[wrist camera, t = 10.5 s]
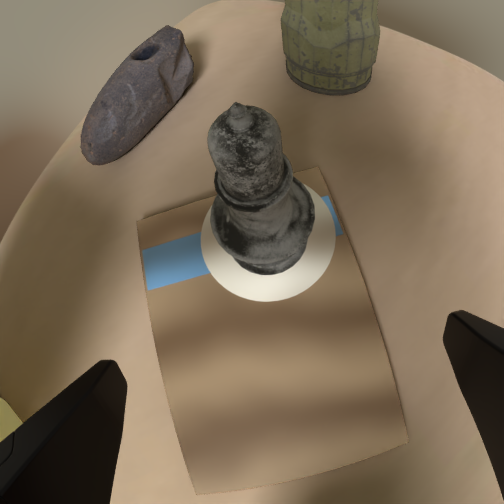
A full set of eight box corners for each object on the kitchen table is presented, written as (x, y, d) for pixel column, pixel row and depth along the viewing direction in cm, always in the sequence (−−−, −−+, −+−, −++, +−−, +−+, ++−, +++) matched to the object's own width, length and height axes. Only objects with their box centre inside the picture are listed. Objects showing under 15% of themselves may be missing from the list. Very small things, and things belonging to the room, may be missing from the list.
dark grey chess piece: (316, 200, 21) (326, 56, 10) (307, 285, 20) (321, 184, 8) (231, 193, 22) (180, 58, 11) (215, 273, 21) (128, 173, 9)
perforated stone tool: (119, 187, 26) (77, 140, 19) (86, 168, 27) (47, 126, 21) (216, 75, 29) (200, 21, 22) (178, 67, 30) (159, 19, 24)
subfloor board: (404, 438, 16) (409, 442, 15) (200, 489, 17) (195, 495, 16) (315, 168, 24) (315, 160, 22) (141, 221, 24) (135, 215, 23)
